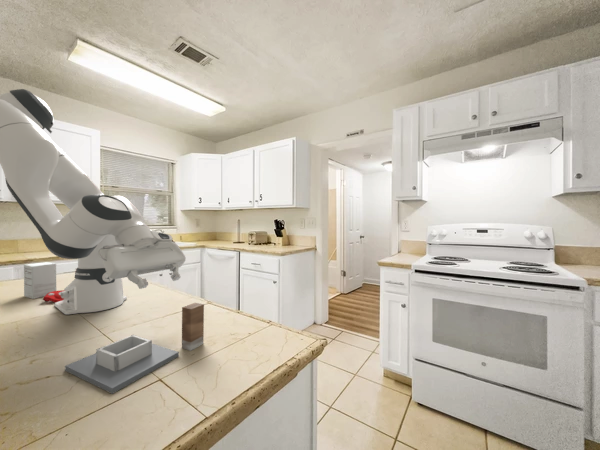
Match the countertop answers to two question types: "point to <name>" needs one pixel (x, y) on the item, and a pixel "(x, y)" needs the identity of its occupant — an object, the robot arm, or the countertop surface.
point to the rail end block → (192, 326)
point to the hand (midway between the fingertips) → (161, 282)
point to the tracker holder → (53, 296)
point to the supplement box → (39, 279)
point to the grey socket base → (121, 363)
